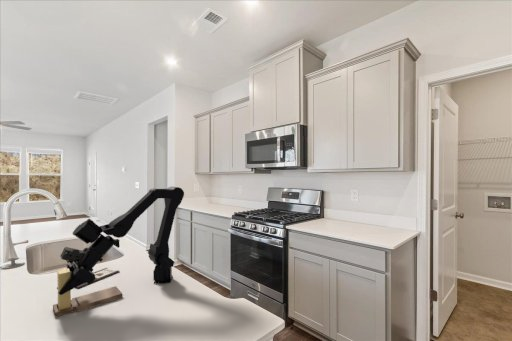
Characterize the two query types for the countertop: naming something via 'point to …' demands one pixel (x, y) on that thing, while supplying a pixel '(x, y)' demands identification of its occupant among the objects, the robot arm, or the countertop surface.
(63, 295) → the stub
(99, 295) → the brown buckle strap
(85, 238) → the robot arm
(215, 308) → the countertop surface
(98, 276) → the chocolate bar
